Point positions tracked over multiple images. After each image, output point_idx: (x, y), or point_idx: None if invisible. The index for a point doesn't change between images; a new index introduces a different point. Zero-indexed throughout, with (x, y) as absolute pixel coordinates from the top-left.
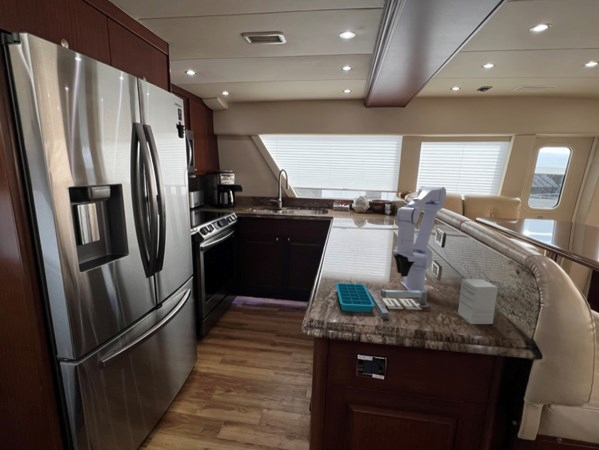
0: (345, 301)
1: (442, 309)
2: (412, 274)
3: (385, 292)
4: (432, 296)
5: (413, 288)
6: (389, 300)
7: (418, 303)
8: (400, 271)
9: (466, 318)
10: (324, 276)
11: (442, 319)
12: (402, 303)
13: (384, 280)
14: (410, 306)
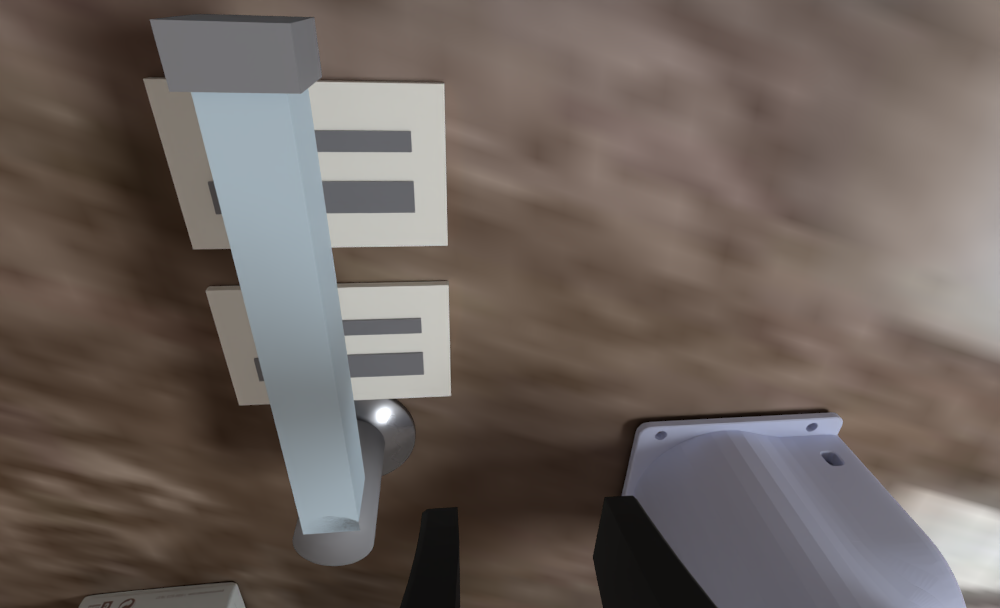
0: None
1: (290, 526)
2: (734, 586)
3: (175, 77)
4: (527, 535)
5: (655, 470)
6: (388, 163)
7: (356, 415)
8: (610, 551)
9: (131, 603)
10: None
11: (89, 479)
12: (347, 283)
13: (960, 288)
14: None
